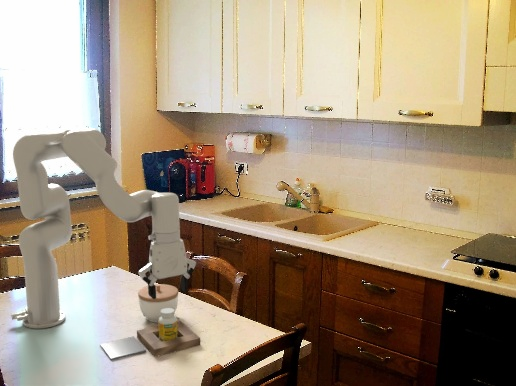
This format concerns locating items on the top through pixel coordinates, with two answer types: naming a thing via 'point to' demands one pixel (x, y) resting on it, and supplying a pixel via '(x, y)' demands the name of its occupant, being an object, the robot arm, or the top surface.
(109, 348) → the coaster
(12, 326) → the top surface
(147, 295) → the lidded bowl
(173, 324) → the supplement bottle
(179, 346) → the socket board
